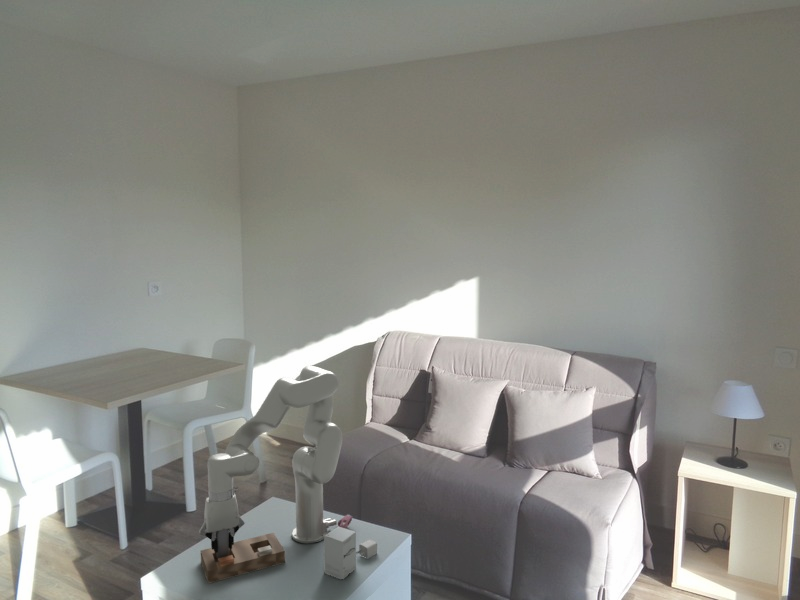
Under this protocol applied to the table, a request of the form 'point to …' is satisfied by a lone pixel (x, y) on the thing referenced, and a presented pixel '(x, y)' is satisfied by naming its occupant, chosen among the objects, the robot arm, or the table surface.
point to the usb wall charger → (367, 548)
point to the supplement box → (340, 552)
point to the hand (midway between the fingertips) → (222, 548)
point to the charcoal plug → (222, 543)
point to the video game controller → (345, 521)
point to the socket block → (243, 557)
